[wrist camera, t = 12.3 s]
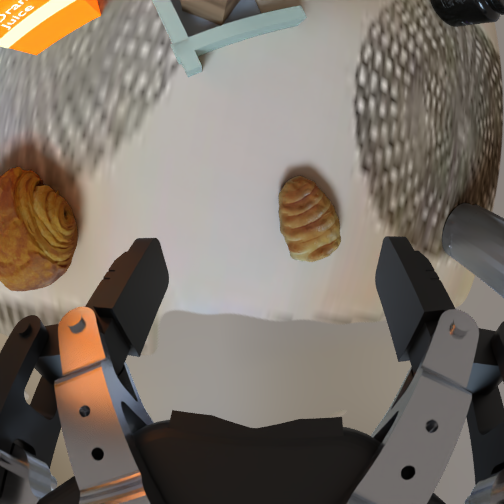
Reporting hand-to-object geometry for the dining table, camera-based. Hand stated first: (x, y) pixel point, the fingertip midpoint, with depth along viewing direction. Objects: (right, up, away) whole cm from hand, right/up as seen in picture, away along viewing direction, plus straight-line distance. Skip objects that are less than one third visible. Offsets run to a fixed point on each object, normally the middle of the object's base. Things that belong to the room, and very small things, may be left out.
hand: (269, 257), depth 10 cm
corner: (-4, +25, +11) cm, 27 cm away
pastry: (+5, +4, +23) cm, 24 cm away
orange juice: (-22, +27, +7) cm, 35 cm away
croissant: (-28, +4, +17) cm, 33 cm away
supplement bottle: (+27, +35, +11) cm, 46 cm away
